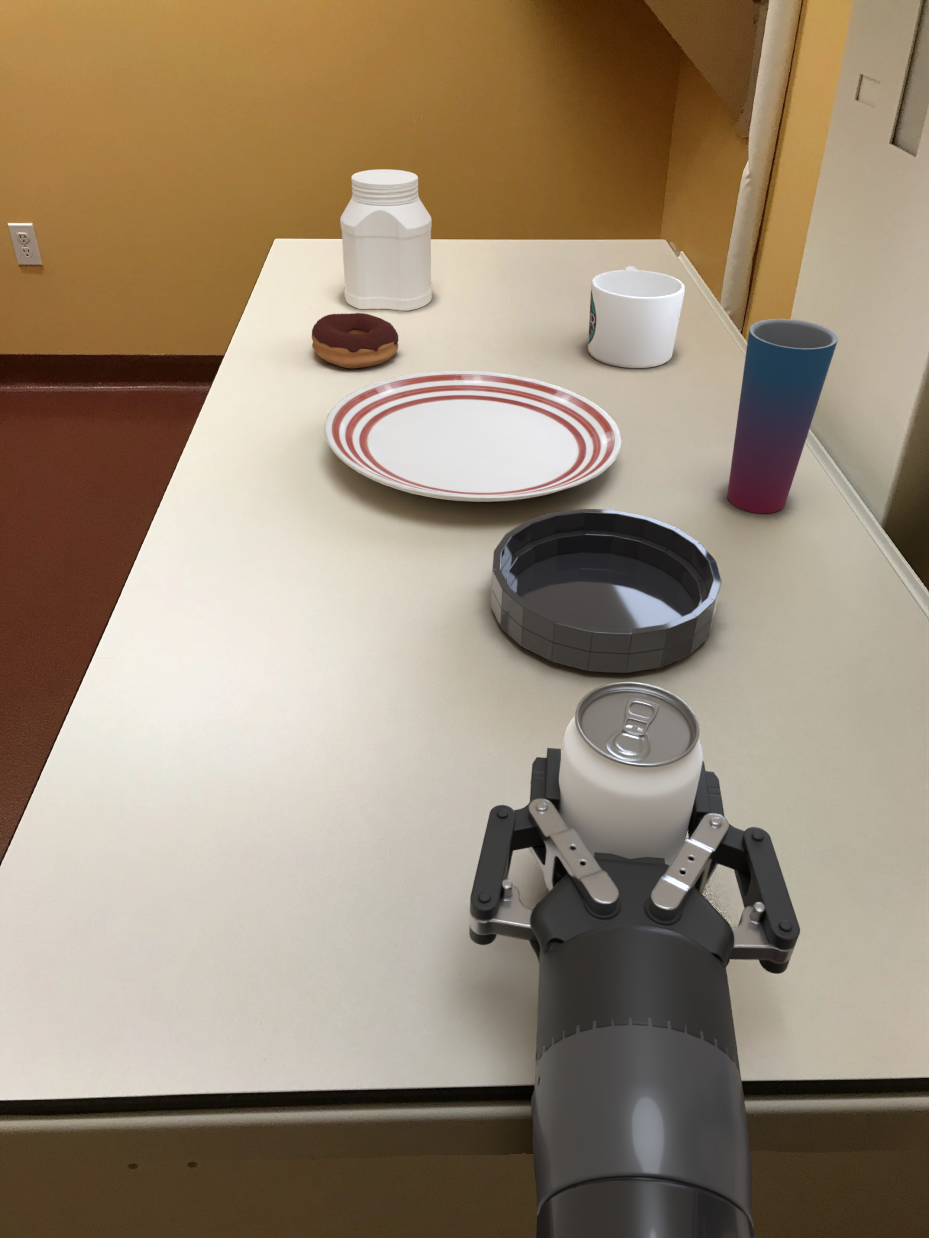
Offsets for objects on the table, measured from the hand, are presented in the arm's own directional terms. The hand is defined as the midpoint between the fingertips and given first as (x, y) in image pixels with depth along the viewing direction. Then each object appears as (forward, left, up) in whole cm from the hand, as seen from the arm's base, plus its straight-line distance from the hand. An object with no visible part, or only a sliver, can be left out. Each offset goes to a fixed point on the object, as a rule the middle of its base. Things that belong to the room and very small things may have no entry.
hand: (622, 766), depth 48 cm
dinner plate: (-20, -44, -7) cm, 49 cm away
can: (+1, +2, -7) cm, 7 cm away
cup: (-37, -24, -7) cm, 44 cm away
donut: (-22, -72, -7) cm, 76 cm away
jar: (-35, -88, -7) cm, 95 cm away
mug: (-51, -58, -7) cm, 77 cm away
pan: (-14, -18, -7) cm, 24 cm away
